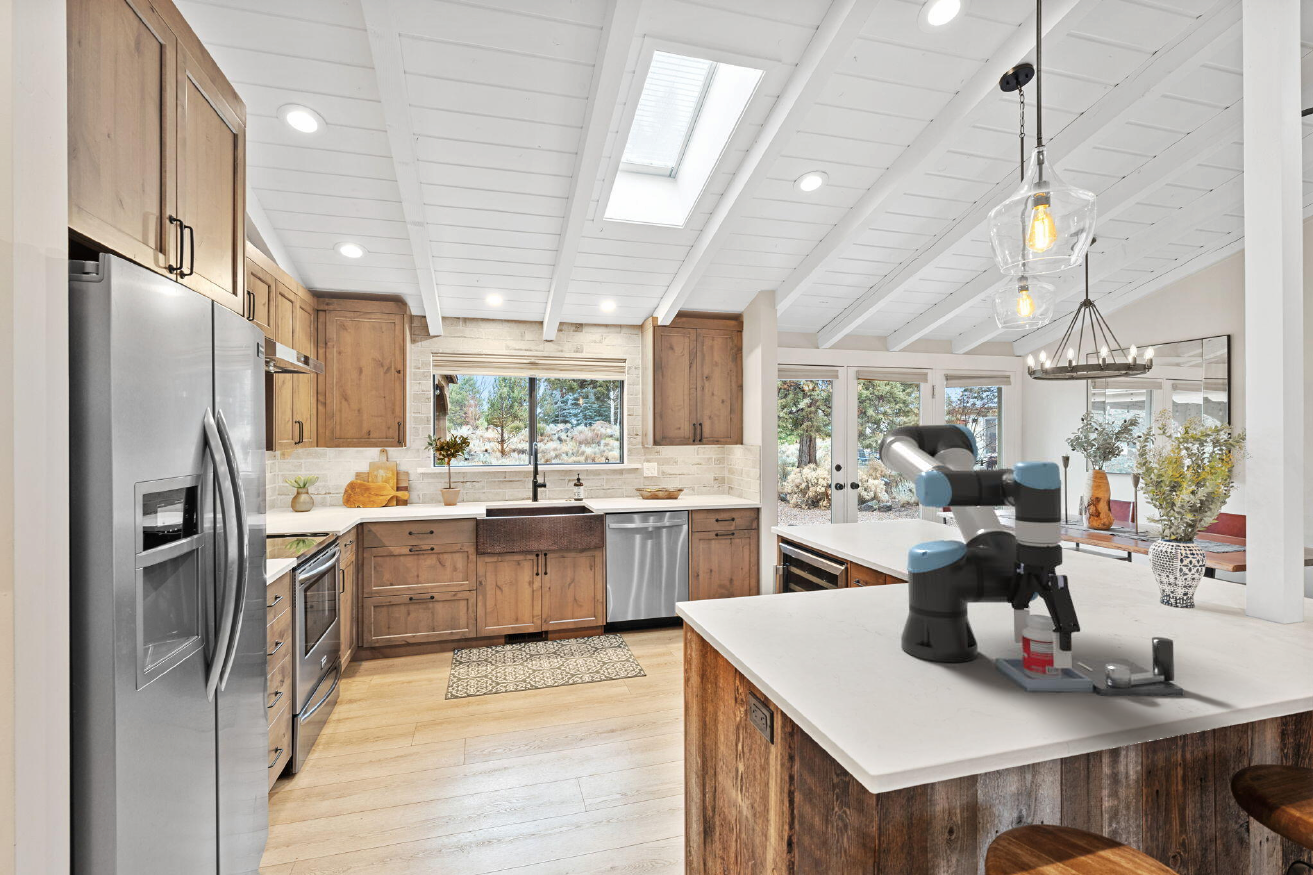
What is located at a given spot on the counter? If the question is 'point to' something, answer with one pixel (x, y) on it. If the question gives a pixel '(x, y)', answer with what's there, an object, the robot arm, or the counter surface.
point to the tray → (1066, 683)
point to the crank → (1161, 672)
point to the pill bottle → (1039, 648)
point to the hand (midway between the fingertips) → (1041, 654)
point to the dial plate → (1097, 673)
